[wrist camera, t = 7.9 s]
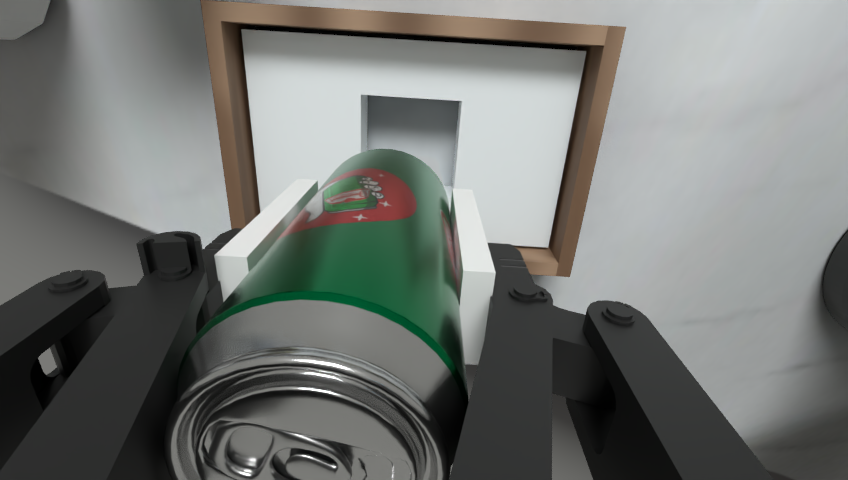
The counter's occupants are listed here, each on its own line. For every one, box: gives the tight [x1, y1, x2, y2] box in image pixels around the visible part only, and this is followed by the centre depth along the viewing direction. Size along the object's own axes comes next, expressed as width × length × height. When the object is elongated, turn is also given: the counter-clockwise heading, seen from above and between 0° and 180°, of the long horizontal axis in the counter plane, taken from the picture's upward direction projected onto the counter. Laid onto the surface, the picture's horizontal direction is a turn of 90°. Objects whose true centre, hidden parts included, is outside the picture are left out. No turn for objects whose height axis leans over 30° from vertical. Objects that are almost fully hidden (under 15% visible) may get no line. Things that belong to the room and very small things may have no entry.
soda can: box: [163, 149, 469, 480], centre depth 12 cm, size 5×5×12 cm
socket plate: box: [241, 29, 586, 248], centre depth 30 cm, size 21×13×3 cm, turn 87°
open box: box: [200, 0, 626, 277], centre depth 29 cm, size 24×16×5 cm, turn 87°
